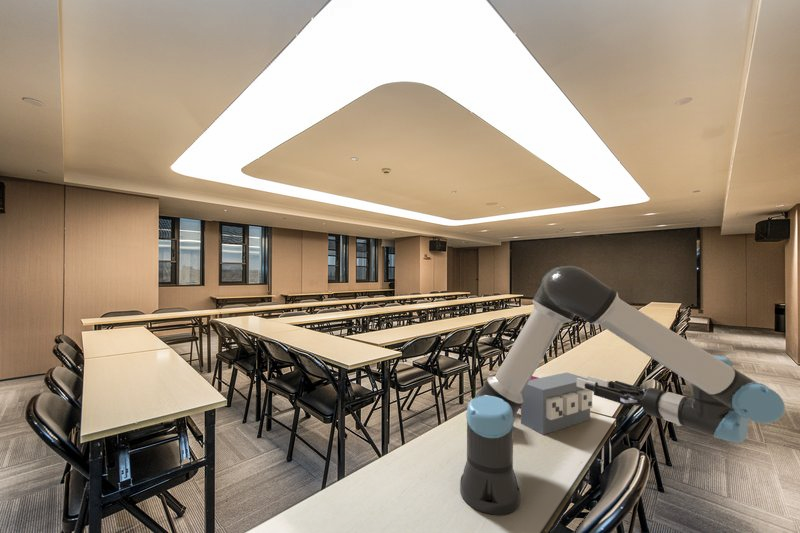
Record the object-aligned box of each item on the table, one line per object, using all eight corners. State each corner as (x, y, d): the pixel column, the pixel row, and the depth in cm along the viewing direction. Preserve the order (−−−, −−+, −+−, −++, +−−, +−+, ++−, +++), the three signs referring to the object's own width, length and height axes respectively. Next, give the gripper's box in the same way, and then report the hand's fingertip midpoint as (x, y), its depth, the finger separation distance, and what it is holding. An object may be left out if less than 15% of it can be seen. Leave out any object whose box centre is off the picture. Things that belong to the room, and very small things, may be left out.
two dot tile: (582, 411, 124) (582, 393, 124) (574, 407, 127) (574, 390, 127) (593, 407, 127) (593, 390, 127) (585, 404, 130) (584, 388, 130)
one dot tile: (567, 415, 120) (567, 397, 120) (559, 412, 123) (559, 394, 123) (578, 412, 123) (578, 394, 123) (570, 408, 126) (570, 391, 126)
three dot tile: (551, 420, 115) (551, 401, 116) (543, 416, 118) (543, 398, 119) (563, 416, 119) (563, 398, 119) (555, 413, 121) (555, 395, 122)
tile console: (543, 434, 117) (543, 390, 117) (520, 423, 125) (520, 381, 126) (590, 419, 130) (589, 379, 130) (567, 410, 139) (566, 372, 139)
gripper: (647, 426, 84) (565, 396, 105) (680, 412, 93) (598, 387, 113) (647, 397, 84) (565, 373, 105) (680, 386, 93) (598, 366, 114)
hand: (582, 380), depth 109 cm, fingers open, 5 cm apart
